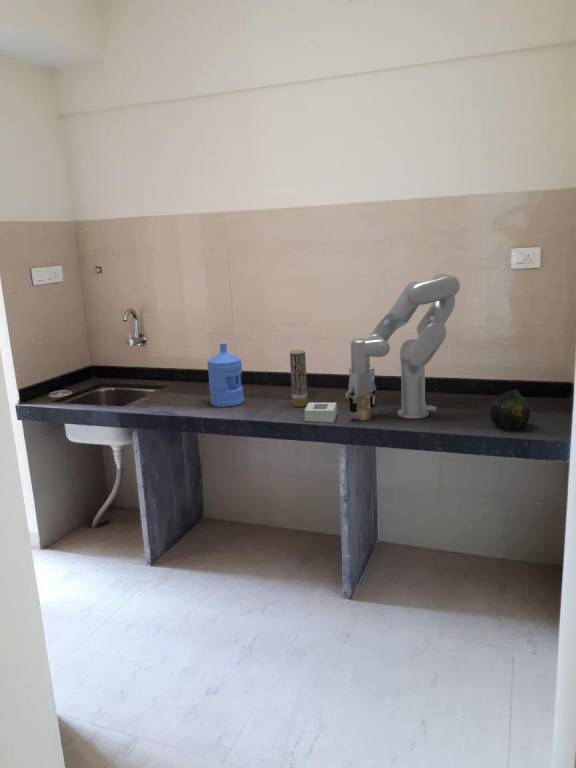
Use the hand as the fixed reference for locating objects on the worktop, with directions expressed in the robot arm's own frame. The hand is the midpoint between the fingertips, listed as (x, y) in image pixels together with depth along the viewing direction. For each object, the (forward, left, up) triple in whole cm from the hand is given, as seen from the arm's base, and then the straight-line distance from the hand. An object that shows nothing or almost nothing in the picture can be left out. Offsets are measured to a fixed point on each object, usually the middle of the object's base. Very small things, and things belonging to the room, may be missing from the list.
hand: (361, 409), depth 263 cm
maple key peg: (0, 0, -4) cm, 4 cm away
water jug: (+64, -23, -4) cm, 68 cm away
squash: (-57, +10, -4) cm, 58 cm away
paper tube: (+29, -19, -4) cm, 35 cm away
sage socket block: (+17, 0, -4) cm, 17 cm away
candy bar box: (+1, -22, -4) cm, 22 cm away
